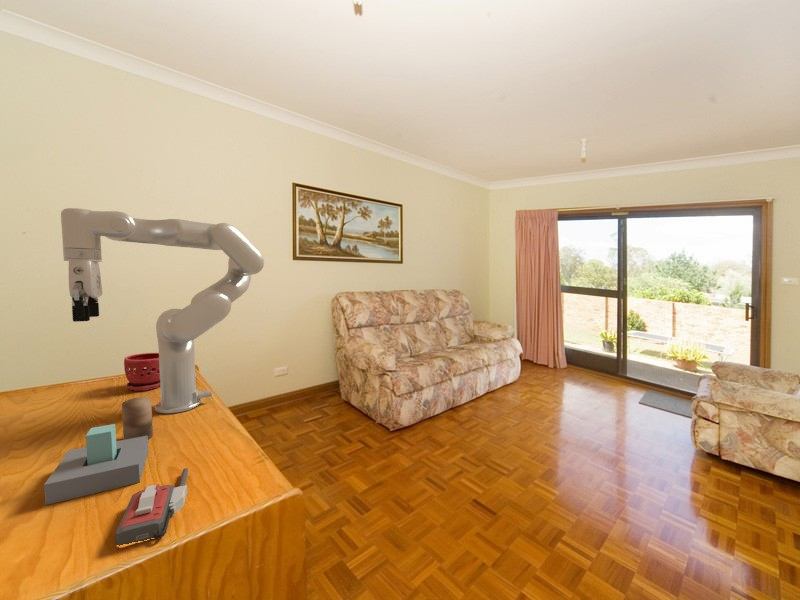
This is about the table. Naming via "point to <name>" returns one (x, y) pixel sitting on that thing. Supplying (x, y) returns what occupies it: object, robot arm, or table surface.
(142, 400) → the round plug
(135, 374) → the plant pot
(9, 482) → the table surface
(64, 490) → the socket block
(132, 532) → the walkie-talkie
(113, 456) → the square peg
